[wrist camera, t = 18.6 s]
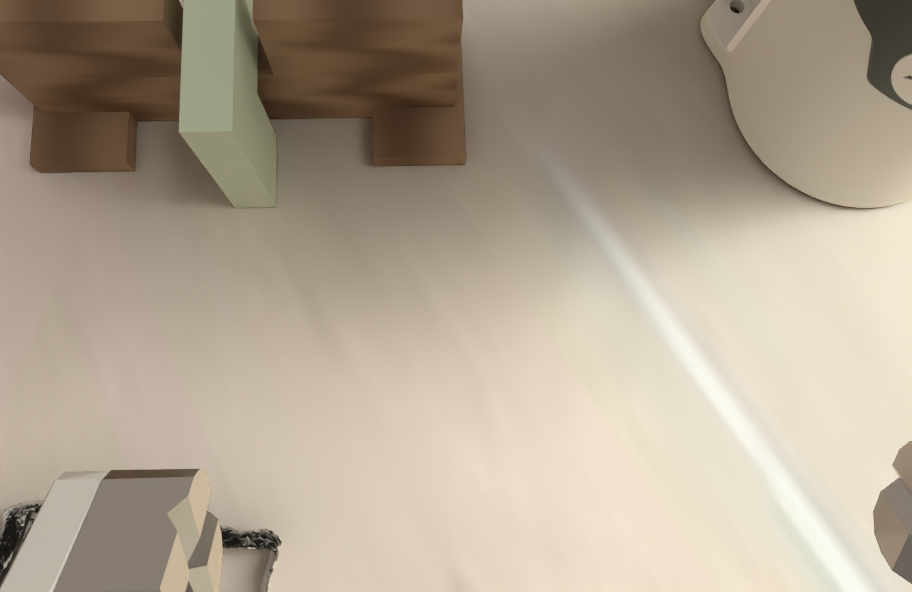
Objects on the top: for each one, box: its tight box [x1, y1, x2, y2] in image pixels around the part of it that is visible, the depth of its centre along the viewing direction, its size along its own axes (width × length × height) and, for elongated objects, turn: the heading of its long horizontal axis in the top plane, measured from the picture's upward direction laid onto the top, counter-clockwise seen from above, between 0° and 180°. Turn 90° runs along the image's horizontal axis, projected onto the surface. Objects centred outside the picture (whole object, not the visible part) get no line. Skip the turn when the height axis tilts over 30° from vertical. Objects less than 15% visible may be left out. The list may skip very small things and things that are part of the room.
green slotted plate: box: [179, 0, 277, 208], centre depth 39 cm, size 12×2×10 cm, turn 2°
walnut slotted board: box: [0, 0, 466, 173], centre depth 39 cm, size 23×8×10 cm, turn 92°
